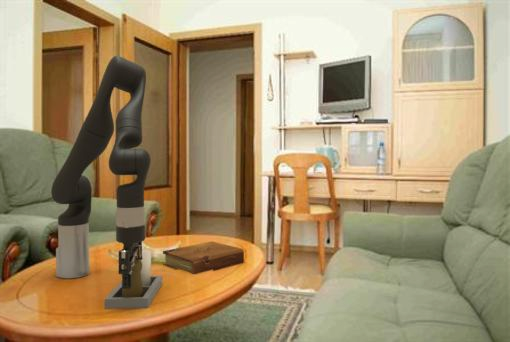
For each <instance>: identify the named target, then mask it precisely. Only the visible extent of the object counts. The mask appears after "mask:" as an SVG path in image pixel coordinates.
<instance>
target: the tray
mask: <svg viewBox="0 0 510 342" xmlns="http://www.w3.org/2000/svg"><path fill="white" fill-rule="evenodd" d="M162 285H163V275H151V286H143V293H144V296H143V297H122V290H123V288H122V280H121V281H120V282H119V283H118V284H117V285H116V286H115V287H114V288H113V289H112V291H110V293H108V295H107V296H106V297H105V298H104V310H110V309H112V310H113V309H115V310H116V309H117V310H118V309H119V310H120V309H122V310H123V309H124V310H125V309H149V307H150V305H151V304H152V302H153V301H154V299H155V297H156V295H157V294H158V292H159V290H160V289H161V287H162Z"/></svg>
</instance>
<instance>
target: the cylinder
mask: <svg viewBox="0 0 510 342" xmlns="http://www.w3.org/2000/svg"><path fill="white" fill-rule="evenodd" d="M141 262H142V270H141V271H140V273H141V279H142V286H151V276H152V249H146V248H142V260H141Z"/></svg>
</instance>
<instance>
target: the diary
mask: <svg viewBox="0 0 510 342" xmlns="http://www.w3.org/2000/svg"><path fill="white" fill-rule="evenodd" d="M162 254H163V255H165V256H164V257H165V259H164V260H165V263H162V265H163V266H164V265H165V267H166V268H167V267H168V268H171V269H172V270H178V271H181V270H184V271H187V272H190V273H192V275H196V274H201V273H203V272H208V271H211V270H212V271H216V270H220V269H224V268H228V267H232V266H236V265H239V264H242V263H244V261H245V259H244V258H245V251H244V249H243V248H241V247H237V246H233V245H228V244H225V243H220V242H217V241H213V240H212V241H206V242H202V243H196V244H191V245H187V246H182V247H175V248H172V249H167V250H163V251H162Z"/></svg>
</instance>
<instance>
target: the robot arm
mask: <svg viewBox="0 0 510 342" xmlns="http://www.w3.org/2000/svg"><path fill="white" fill-rule="evenodd" d="M146 81H147V73H146V70H145V68H144V67H143V66H141V65H139V64H137V63H135V62H133V61H131V60H129V59H127V58H124V57H123V56H119V55H115V56H112V58H111V59H110V60H109V62H108V64H107V65H106V69H105V70H104V74H103V76H102V78H101V81H100V84H99V86H98V89H97V93H96V94H95V95H96V96H95V97H94V99H93V102H92V105H91V107H90V109H89V111H88V113H87V115H86V117H85V119H84V120H83V123H82V124H81V128H80V130H79V132H78V135H77V136H76V139H75V142H74V144H73V146H72V147H71V150H70V152H69V154H68V156H67V157H66V160H65V161H64V163H63V165H62V166H61V168H60V170H59V172H58V173H57V175H56V177H55V178H54V181H53V182H52V186H51V192H50V193H51V198H52V200H53V202H55V203H56V204H59V205H68V206H67V209H66V210H65V211H64V212H62V213H61V214H59V215H58V217H57V227H58V228H57V232H58V233H57V234H58V235H57V236H58V246H57V247H56V249H55V263H56V264H55V267H56V268H55V273H56V275H55V276H56V278H61V279H78V278H83V277H86V276H87V275H89V274H90V228H89V226H90V225H89V224H90V222H89V219H90V216H91V212H92V198H93V197H92V196H93V195H92V192H93V191H92V184H91V181H90V180H89V178H88V177H87V176H85V175H83V174H84V173H85V171H86V170H87V168H88V167H89V166H91V164H92V163H93V162H94V161H95V160H97V159H98V158H99V157H100V156H101V155H102V154H103V153H104V152H105V150H106V149H107V147H108V145H109V143H110V141H111V139H112V137H113V135H114V132H115V139H114V144H113V146H112V149H111V152H110V155H109V159H108V168H109V170H110V172H111V173H112V174H113V175H116V176H136V178H135V180H133V181H131V182H129V183H123V184H120V185H118V186H117V188H116V212H115V240H116V243H117V242H118V243H119V244H122V248H121V250H118V274H119V275H121V281H122V288H123V289H130V288H131V286H132V285H131V273H132V267H133V266H134V265H135V260H136V259H138V260H140V261H141V260H142V249H143V241H145V240H146V211H145V185H146V182H147V181H146V180H147V177H148V173H149V170H150V168H151V167H150V166H151V163H152V162H151V155H150V153H149V152H148V151H147V150H146V149H143V148H137V147H140V145H141V144H142V142H143V127H142V126H143V125H142V124H143V123H142V112H143V106H144V98H145V92H146V91H145V90H146V83H147V82H146ZM115 88H116V89H117V90H120V91H123V92H124V93H129V95H130V99H129V101H128V102H127V103H125V105H124V106H123V107H122V108H121V109H120V110H119V111H118V113H117V116H116V118H115V122H114V119H113V113H112V107H111V106H112V105H111V99H112V94H113V92H114V89H115ZM125 266H126V269H125Z"/></svg>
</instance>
